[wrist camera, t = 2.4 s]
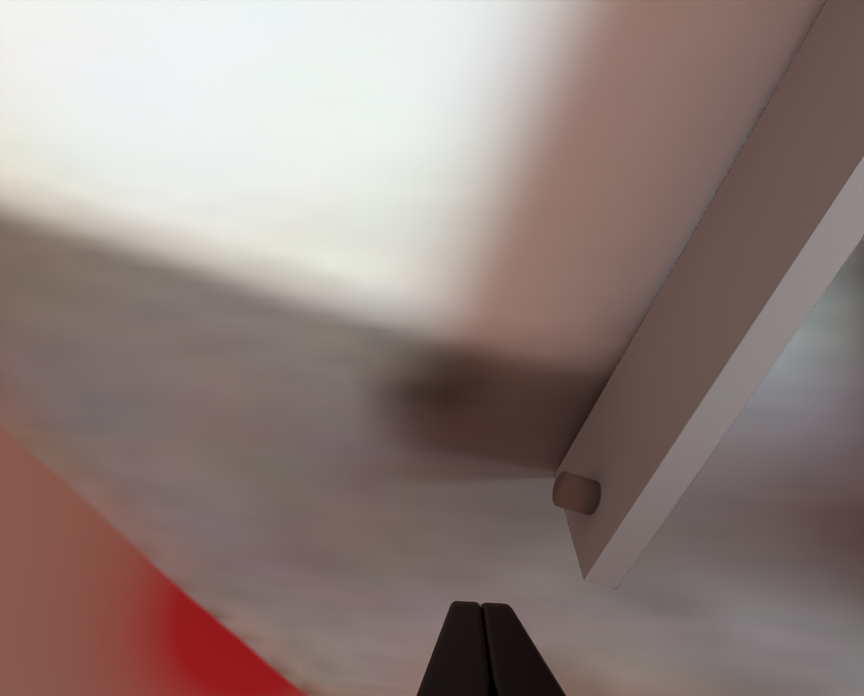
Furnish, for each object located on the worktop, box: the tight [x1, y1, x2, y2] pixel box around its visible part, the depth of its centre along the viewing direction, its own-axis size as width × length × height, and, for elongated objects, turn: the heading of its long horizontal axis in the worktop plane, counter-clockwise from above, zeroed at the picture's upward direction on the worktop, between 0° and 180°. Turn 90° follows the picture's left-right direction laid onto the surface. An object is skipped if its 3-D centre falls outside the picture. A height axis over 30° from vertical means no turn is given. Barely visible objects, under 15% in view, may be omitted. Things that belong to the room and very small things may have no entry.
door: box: [553, 0, 864, 589], centre depth 15 cm, size 20×2×5 cm, turn 160°
